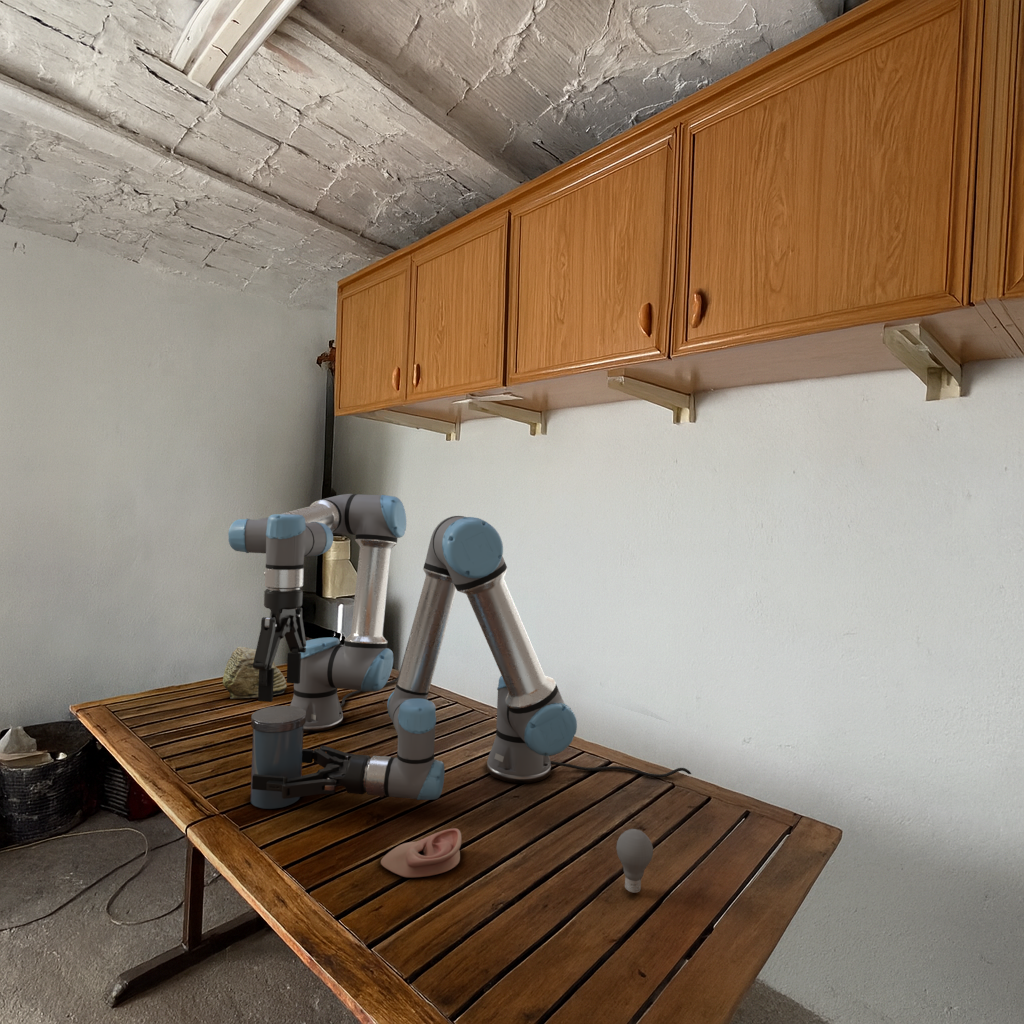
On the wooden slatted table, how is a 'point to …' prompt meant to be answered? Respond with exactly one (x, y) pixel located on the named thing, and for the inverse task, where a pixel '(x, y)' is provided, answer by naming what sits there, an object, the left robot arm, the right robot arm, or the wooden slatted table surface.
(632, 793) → the wooden slatted table surface
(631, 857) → the light bulb
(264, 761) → the jar
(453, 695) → the wooden slatted table surface
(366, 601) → the left robot arm
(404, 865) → the anatomical model
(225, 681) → the fossil
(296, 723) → the lid
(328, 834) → the wooden slatted table surface
